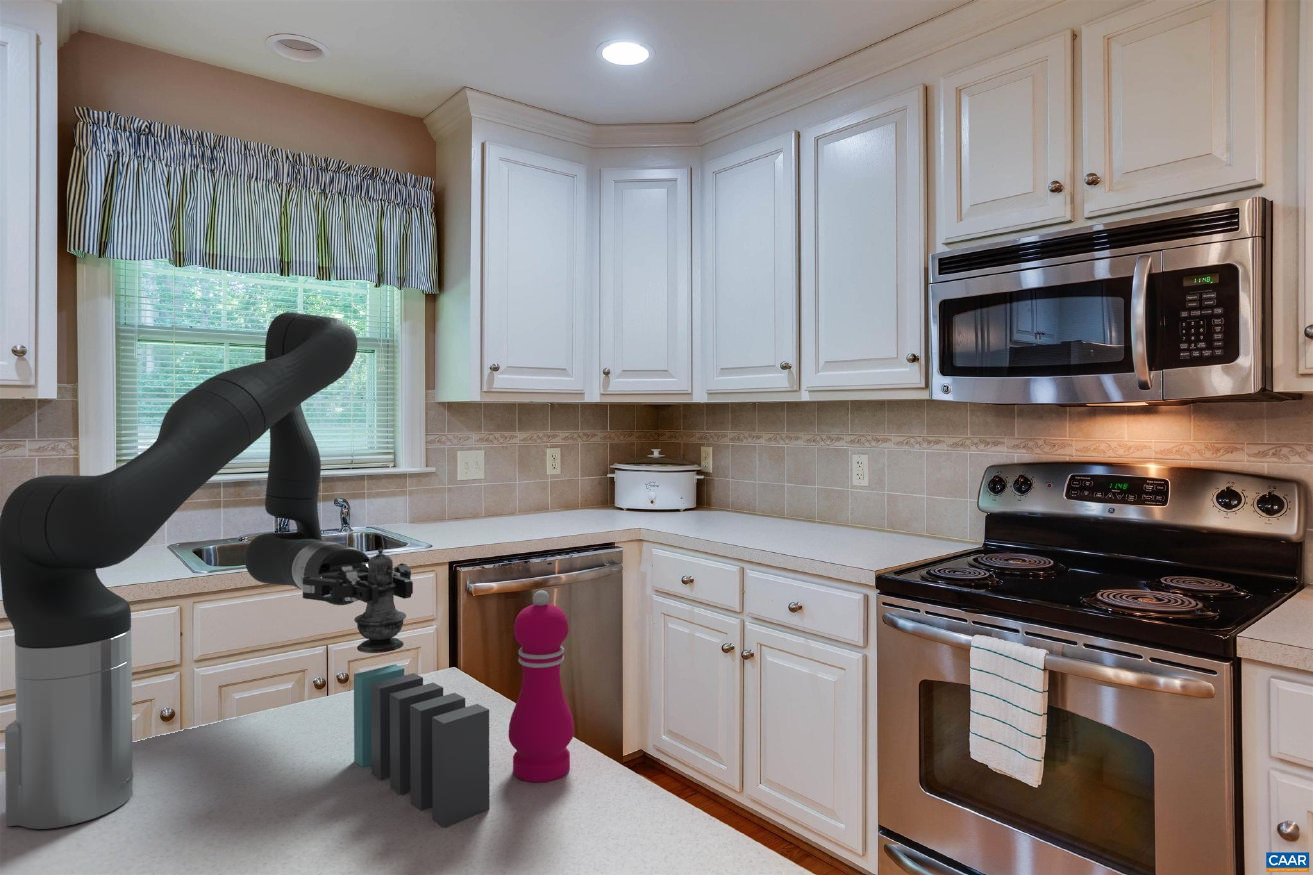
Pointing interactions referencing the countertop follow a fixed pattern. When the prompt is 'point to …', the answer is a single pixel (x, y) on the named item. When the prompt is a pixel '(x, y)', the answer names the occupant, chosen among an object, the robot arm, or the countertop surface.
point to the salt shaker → (380, 610)
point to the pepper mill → (541, 695)
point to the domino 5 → (460, 764)
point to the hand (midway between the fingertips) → (392, 592)
